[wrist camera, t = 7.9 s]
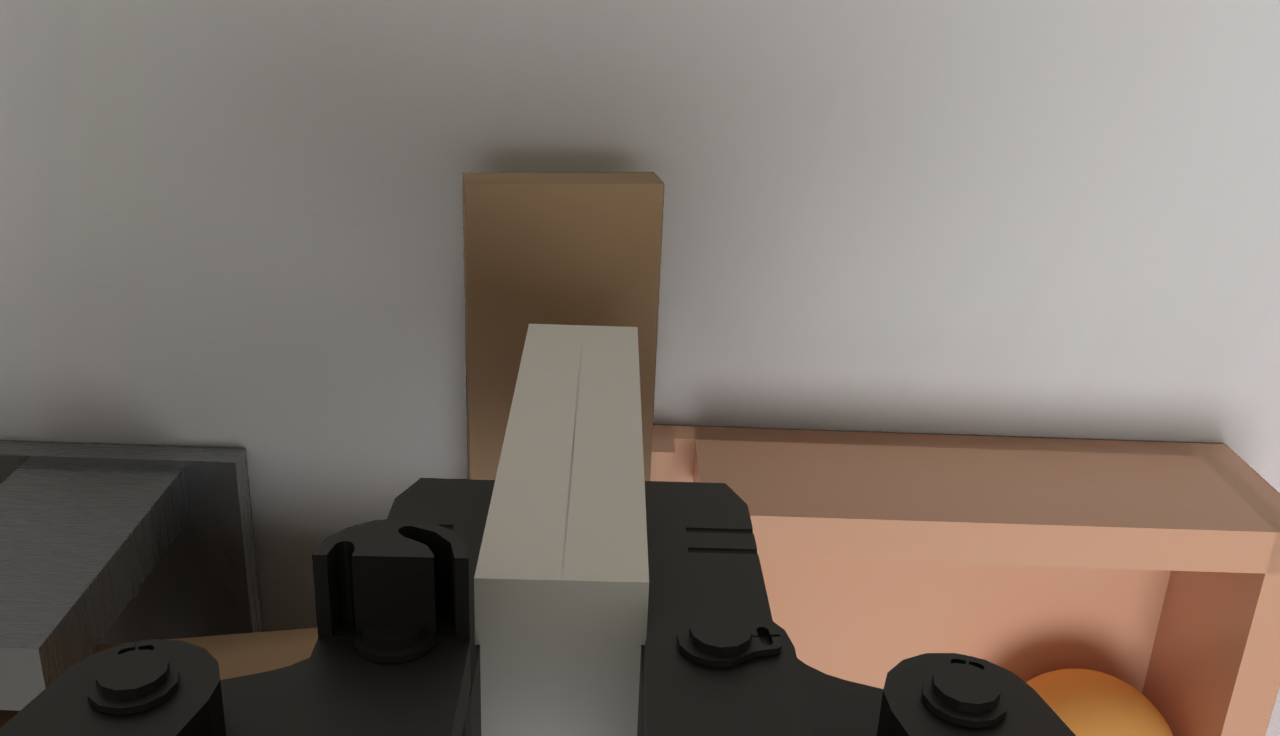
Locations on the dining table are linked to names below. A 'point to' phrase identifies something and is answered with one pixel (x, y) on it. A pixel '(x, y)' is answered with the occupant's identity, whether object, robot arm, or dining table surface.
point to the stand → (118, 553)
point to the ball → (1099, 704)
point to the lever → (521, 319)
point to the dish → (1014, 557)
